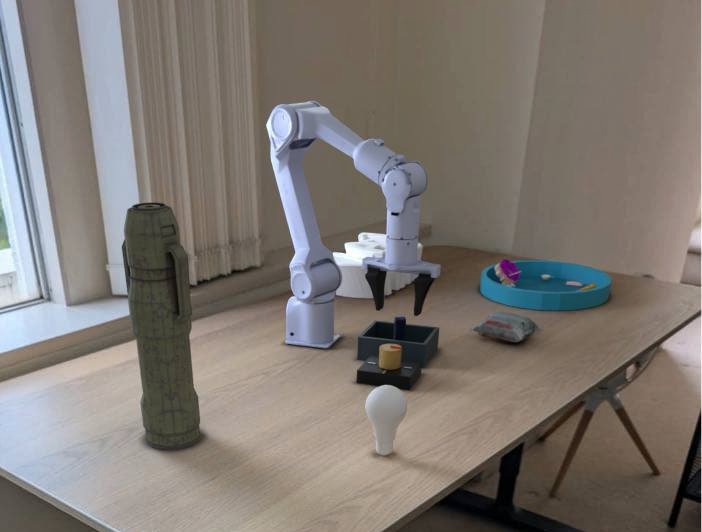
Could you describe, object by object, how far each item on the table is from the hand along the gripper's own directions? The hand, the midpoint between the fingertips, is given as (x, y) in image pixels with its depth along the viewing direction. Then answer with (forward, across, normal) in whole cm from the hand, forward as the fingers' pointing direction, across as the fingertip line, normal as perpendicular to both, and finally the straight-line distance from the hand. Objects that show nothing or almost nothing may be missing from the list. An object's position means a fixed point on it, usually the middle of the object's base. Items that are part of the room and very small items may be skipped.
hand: (398, 311), depth 151 cm
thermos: (+10, -19, -48) cm, 52 cm away
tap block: (+10, +2, -9) cm, 13 cm away
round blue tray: (+10, +14, +60) cm, 62 cm away
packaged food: (+10, +15, +22) cm, 28 cm away
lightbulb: (+10, +14, -38) cm, 42 cm away
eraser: (+9, -1, +4) cm, 10 cm away
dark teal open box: (+10, -1, +4) cm, 10 cm away
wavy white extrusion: (+10, -26, +48) cm, 56 cm away
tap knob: (+7, +2, -9) cm, 12 cm away
